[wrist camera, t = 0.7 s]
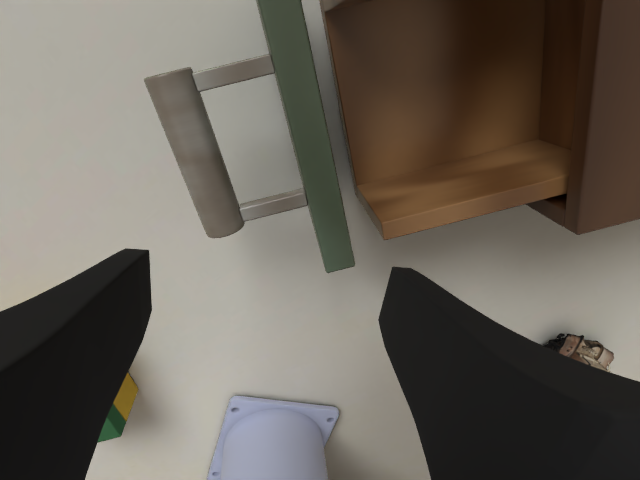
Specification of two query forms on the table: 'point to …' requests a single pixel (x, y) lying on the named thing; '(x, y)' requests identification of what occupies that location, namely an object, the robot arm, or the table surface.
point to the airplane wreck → (582, 350)
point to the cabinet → (604, 124)
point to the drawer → (398, 113)
